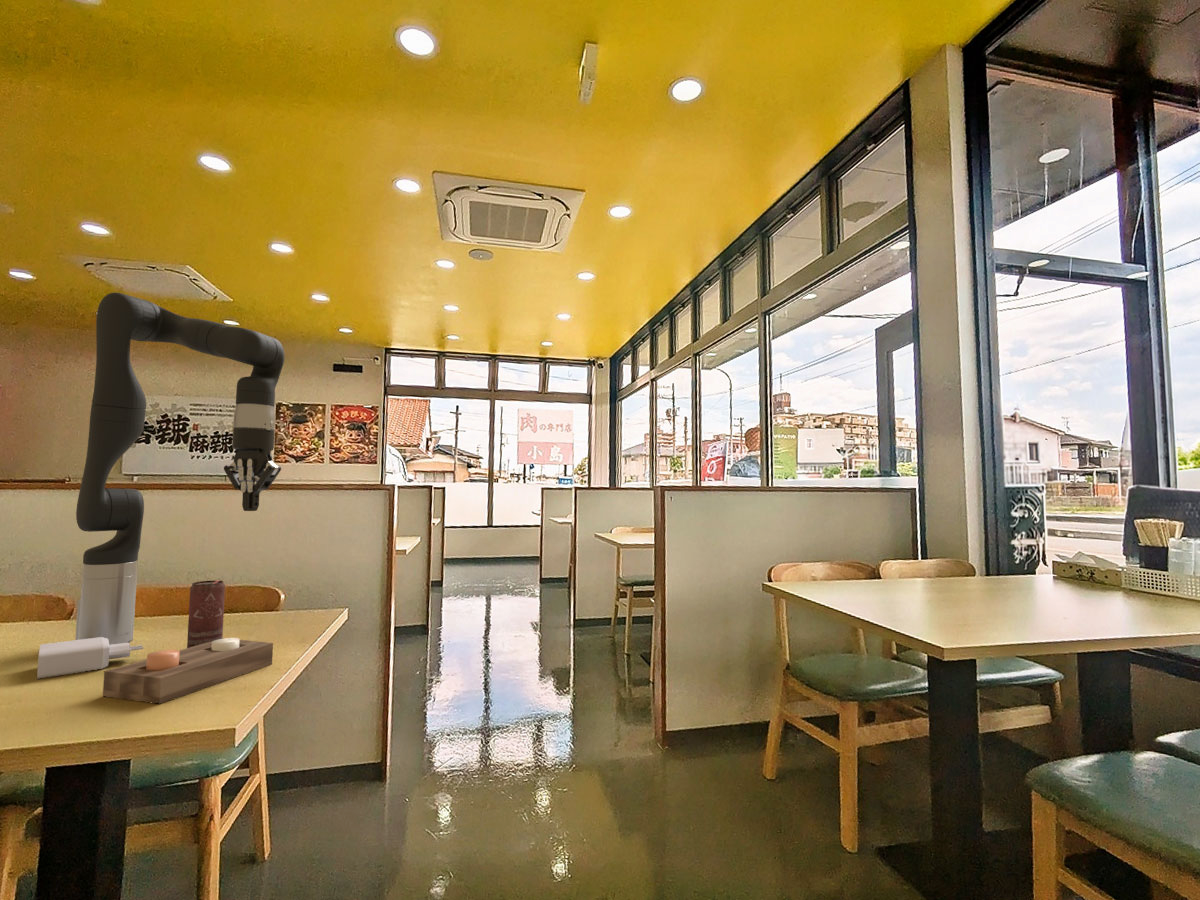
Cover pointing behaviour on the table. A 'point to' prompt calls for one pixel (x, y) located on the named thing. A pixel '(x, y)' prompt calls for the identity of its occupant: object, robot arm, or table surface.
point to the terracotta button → (162, 660)
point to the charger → (79, 656)
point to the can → (205, 612)
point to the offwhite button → (225, 644)
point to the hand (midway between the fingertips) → (250, 510)
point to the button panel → (186, 672)
